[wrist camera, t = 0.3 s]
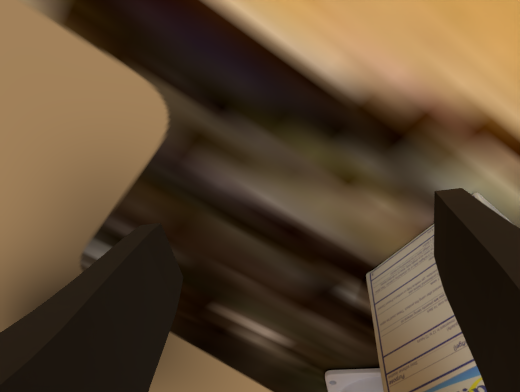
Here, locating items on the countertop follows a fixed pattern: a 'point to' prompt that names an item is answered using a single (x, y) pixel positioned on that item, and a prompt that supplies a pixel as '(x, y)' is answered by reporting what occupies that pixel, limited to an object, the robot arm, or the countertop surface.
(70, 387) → the robot arm
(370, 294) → the medicine box
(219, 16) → the countertop surface
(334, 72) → the countertop surface
